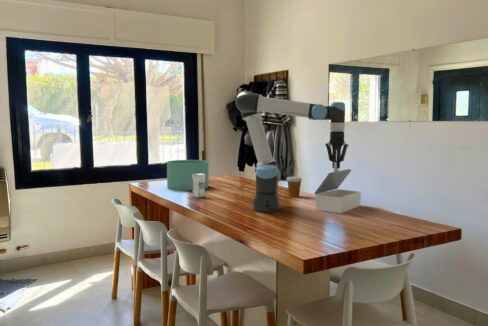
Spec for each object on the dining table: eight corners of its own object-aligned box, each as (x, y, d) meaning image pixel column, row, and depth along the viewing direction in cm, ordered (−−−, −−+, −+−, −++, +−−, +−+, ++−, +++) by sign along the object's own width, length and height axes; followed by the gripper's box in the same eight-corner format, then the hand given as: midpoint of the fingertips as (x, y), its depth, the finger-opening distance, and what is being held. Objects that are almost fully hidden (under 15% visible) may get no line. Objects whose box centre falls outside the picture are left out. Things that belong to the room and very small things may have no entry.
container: (164, 185, 306) (164, 160, 304) (203, 183, 315) (203, 159, 313) (170, 191, 278) (169, 163, 276) (212, 189, 287) (212, 163, 285)
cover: (330, 174, 212) (329, 172, 213) (316, 194, 218) (314, 192, 219) (351, 170, 233) (349, 168, 233) (337, 188, 239) (335, 187, 239)
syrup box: (198, 195, 261) (198, 172, 259) (205, 196, 257) (205, 173, 256) (192, 196, 256) (191, 173, 255) (198, 197, 253) (198, 174, 251)
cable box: (340, 213, 210) (340, 197, 210) (316, 209, 219) (316, 194, 218) (360, 205, 231) (360, 191, 230) (337, 202, 239) (337, 189, 239)
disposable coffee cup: (301, 197, 255) (301, 178, 254) (285, 197, 257) (286, 178, 256) (301, 195, 264) (302, 176, 263) (287, 194, 266) (287, 176, 265)
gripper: (351, 131, 221) (350, 174, 224) (329, 130, 229) (328, 172, 231) (345, 131, 215) (344, 175, 218) (323, 130, 223) (322, 173, 226)
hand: (335, 174), depth 225 cm, fingers closed
